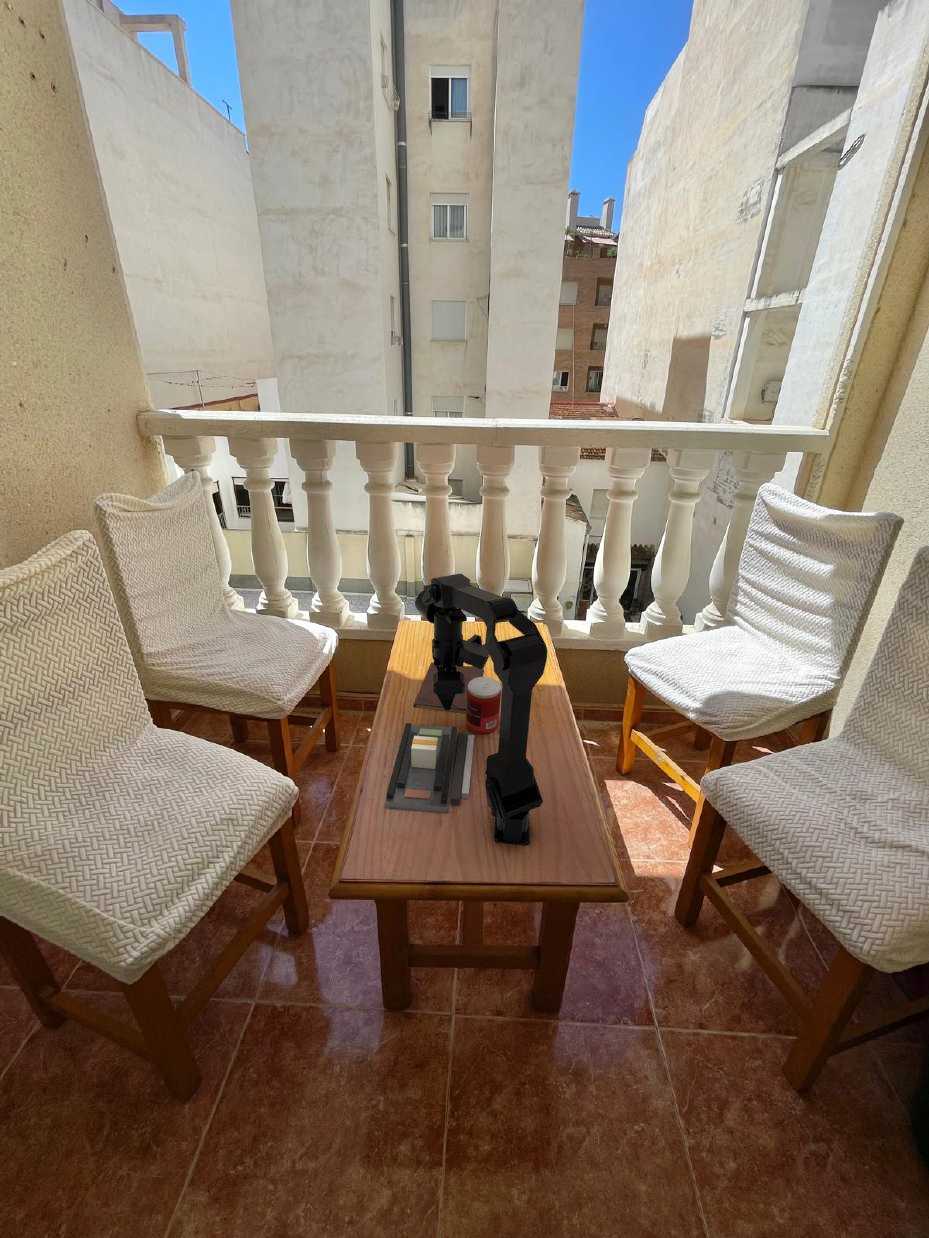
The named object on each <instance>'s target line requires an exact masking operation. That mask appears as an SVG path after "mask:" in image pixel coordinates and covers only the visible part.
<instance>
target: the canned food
mask: <svg viewBox="0 0 929 1238" xmlns="http://www.w3.org/2000/svg"><path fill="white" fill-rule="evenodd" d="M501 699H502V683H501V682H500V681H499V680H497V679H495V678H492V677H489V676H483V677H478V678H475V679H473V680H471V681H470V682H469V684H468V688H467V713H465V716H466V718H465V722H466V726H467V728H468V730H469V731H471V732H472V733H474V734H479V735H485V734H490V733H493V732H494V731H495V730H497V728H498V726H499V724H500V712H501Z"/></svg>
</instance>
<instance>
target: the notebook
mask: <svg viewBox="0 0 929 1238" xmlns="http://www.w3.org/2000/svg"><path fill="white" fill-rule="evenodd" d="M484 668H485V667H484ZM484 668H483V669H478V668H477V667H475V666H472V665H464V666H463V667H458V666H457V665H456V669H457V671H460V672H461V673H462V674H463V675H464V680H465V692H464V693H463V694H456V695H455V697H454V700H453V703H452V706H451V709H450V710H445V709H444V708H443V706H442V704H441V702H440V700H439V698H438V697H437V695H436V694H435V693H433V675H434V674H435V673H436V672H437V671H438V670H437V668H436V666H434V661H433V662H432V661H431V663H430V665H429V667H428V669H427V671H426V674H425V676H424V678H423V681H422V683H421V686H420V688H419V691H418V693H417V695H416V698H415V700H414V703H413V705H412V706H413V708H419V709H420V708H421V709H427V710H433V711H436V710H437V711H441V712H451V713H460V714H466V713H467V688H468V684H469V682H470V681H471V680H473V679H475V678H478V677H484V672H485V669H484Z"/></svg>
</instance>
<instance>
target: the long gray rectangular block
mask: <svg viewBox="0 0 929 1238" xmlns="http://www.w3.org/2000/svg"><path fill="white" fill-rule="evenodd" d="M474 743H475V734H473V735H472V734H468V733H467V732H458V738H457V746H456V753H455V756H456V757H455V761H454V762H455V763H454V768H453V776H452V784H451V785H452V787H451V791H450V803H449V804H450V806H457V807H460V805H461V799H465V800H466V799H467V800H469V797H470V788H471V787H470V785H471V775H472V763H473V756H474V754H473V753H474Z"/></svg>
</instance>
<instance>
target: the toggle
mask: <svg viewBox="0 0 929 1238" xmlns="http://www.w3.org/2000/svg"><path fill="white" fill-rule="evenodd" d="M437 757H438V737H424V736H414V739H413V742H412V747H411V767H418V768H430V769H435V768H436V762H437Z"/></svg>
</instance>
